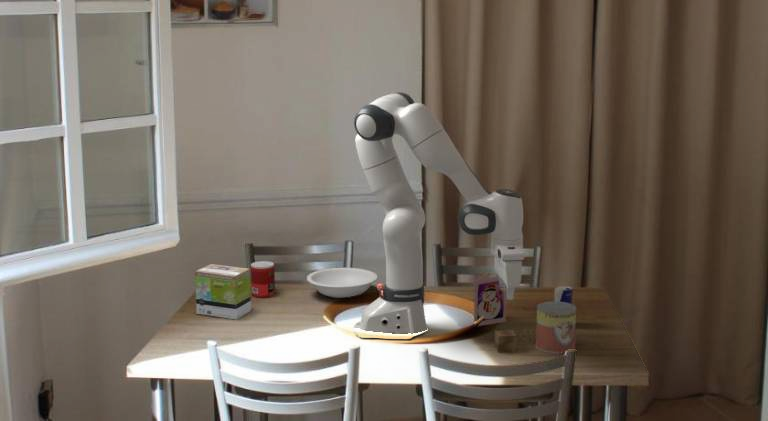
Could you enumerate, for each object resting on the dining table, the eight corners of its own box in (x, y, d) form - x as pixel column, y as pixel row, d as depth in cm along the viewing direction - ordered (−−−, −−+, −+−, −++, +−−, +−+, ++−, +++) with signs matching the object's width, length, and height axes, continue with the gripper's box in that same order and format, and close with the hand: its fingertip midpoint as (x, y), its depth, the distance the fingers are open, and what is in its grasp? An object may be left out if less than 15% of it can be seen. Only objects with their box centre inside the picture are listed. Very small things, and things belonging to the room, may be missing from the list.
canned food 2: (549, 355, 292) (550, 314, 289) (528, 343, 302) (529, 304, 299) (582, 349, 296) (584, 309, 294) (561, 338, 306) (562, 299, 304)
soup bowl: (315, 284, 364) (314, 266, 363) (382, 286, 361) (382, 268, 360) (300, 304, 341) (299, 285, 340) (372, 307, 338) (371, 287, 336)
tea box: (195, 315, 330) (193, 270, 327) (212, 306, 339) (210, 262, 336) (236, 320, 325) (234, 275, 322) (252, 311, 334) (250, 267, 331)
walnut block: (498, 353, 294) (498, 336, 293) (494, 347, 299) (495, 330, 298) (515, 352, 295) (515, 335, 294) (511, 346, 299) (512, 330, 298)
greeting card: (475, 327, 316) (476, 280, 313) (463, 320, 323) (464, 274, 320) (507, 322, 321) (508, 275, 318) (494, 315, 328) (495, 270, 325)
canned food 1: (273, 298, 348) (272, 266, 345) (250, 298, 348) (249, 266, 346) (276, 291, 355) (275, 261, 353) (253, 292, 355) (252, 261, 353)
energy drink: (571, 328, 315) (572, 290, 312) (553, 327, 316) (554, 289, 314) (571, 323, 320) (572, 285, 318) (554, 322, 321) (555, 284, 319)
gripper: (489, 238, 300) (488, 284, 303) (502, 256, 280) (502, 305, 283) (510, 238, 301) (510, 283, 304) (525, 255, 281) (525, 304, 284)
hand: (506, 294), depth 293 cm, fingers open, 8 cm apart
